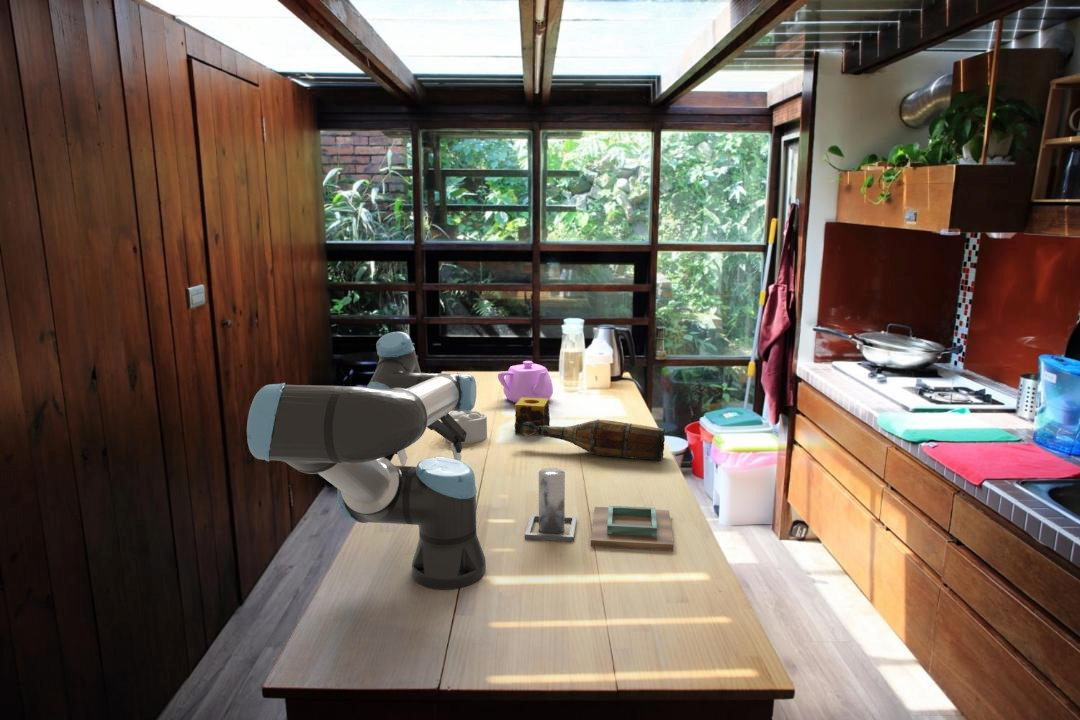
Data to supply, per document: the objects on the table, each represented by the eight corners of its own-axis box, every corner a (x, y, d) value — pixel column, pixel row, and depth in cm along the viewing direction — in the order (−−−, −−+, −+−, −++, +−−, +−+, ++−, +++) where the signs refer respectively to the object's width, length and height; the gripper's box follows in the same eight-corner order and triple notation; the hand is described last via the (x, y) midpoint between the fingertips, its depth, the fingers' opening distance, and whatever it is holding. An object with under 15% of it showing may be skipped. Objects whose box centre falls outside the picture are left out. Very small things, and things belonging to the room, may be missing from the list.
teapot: (489, 399, 281) (488, 360, 278) (538, 392, 291) (538, 355, 288) (515, 414, 262) (515, 373, 258) (566, 406, 271) (567, 366, 268)
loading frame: (573, 541, 165) (573, 537, 165) (524, 538, 167) (524, 534, 166) (576, 520, 176) (576, 516, 176) (531, 517, 177) (531, 514, 177)
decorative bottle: (668, 442, 222) (526, 427, 234) (667, 418, 215) (521, 404, 228) (663, 470, 214) (516, 453, 227) (662, 446, 207) (511, 429, 220)
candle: (544, 436, 238) (544, 406, 236) (514, 434, 240) (513, 404, 238) (550, 426, 247) (550, 398, 245) (521, 424, 249) (521, 396, 247)
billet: (563, 535, 168) (563, 478, 165) (537, 534, 169) (537, 476, 166) (565, 524, 174) (565, 468, 171) (540, 523, 174) (540, 467, 171)
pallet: (673, 550, 161) (673, 536, 160) (590, 546, 163) (590, 531, 162) (668, 516, 178) (669, 502, 177) (594, 512, 180) (594, 499, 180)
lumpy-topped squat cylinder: (449, 432, 242) (448, 407, 240) (488, 432, 241) (488, 407, 239) (444, 442, 231) (443, 416, 230) (485, 443, 231) (484, 416, 229)
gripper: (467, 381, 165) (484, 449, 178) (362, 385, 169) (386, 451, 182) (460, 403, 159) (479, 472, 172) (352, 407, 163) (378, 473, 176)
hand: (431, 461), depth 177 cm, fingers open, 13 cm apart
